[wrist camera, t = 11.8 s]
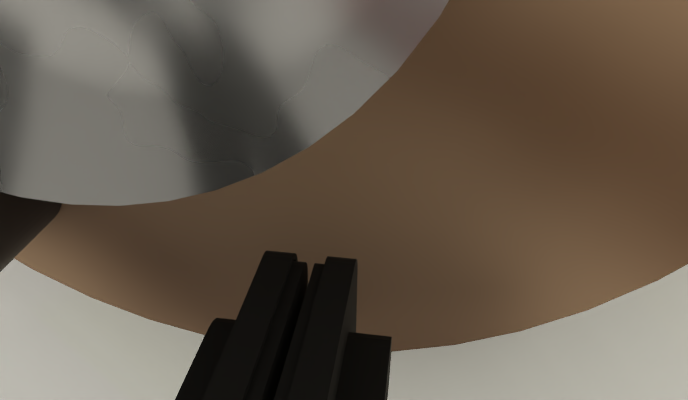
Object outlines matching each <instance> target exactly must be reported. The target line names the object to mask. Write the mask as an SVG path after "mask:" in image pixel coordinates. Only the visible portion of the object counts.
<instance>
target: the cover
mask: <svg viewBox="0 0 688 400" xmlns="http://www.w3.org/2000/svg"><path fill="white" fill-rule="evenodd" d="M448 1H449V0H0V192H3V193H7V194H10V195H14V196H18V197H23V198H30V199H37V200H44V201H51V202H57V203H64V204H73V205H108V206H123V205H134V204H144V203H155V202H165V201H171V200H176V199H180V198H184V197H189V196H193V195H197V194H202V193H206V192H211V191H215V190H218V189H220V188H223V187H226V186H228V185H231V184H234V183H236V182H239V181H242V180H244V179H247V178H250V177H252V176H255V175H257V174H260V173H263V172H265V171H266V170H268V169H270V168H272V167H274V166H275V165H277V164H279V163H281V162H283V161H285V160H286V159H288V158H290V157H292V156H294V155H296V154H297V153H299V152H301V151H303V150H305V149H307V148H308V147H310V146H311V145H312V144H314V143H315V142H317V141H318V140H319V139H321V138H322V137H323V136H325V135H326V134H327V133H329V132H330V131H331V130H333V129H334V128H335V127H337V126H338V125H339V124H341V123H342V122H343V121H345V120H346V119H347V118H349V117H350V116H351V115H353V114H354V113H355V112H356V111H357V110H358V109H359V108H360V107H361V106H362V105H363V104H364V103H365V102H366V101H367V100H368V99H369V98H370V97H371V96H372V95H373V94H374V93H375V92H376V91H377V90H378V89H379V88H380V87H381V86H382V85H383V84H384V83H385V82H387V81H388V80H389V79H390V78H391V77H392V76H393V75H394V74H395V73H396V72H397V71H398V69H399V68H400V67H401V65H402V64H403V63H404V62H405V60H406V59H407V58H408V56H409V55H410V54H411V53H412V51H413V50H414V49H415V47H416V46H417V45H418V44H419V42H420V41H421V40H422V38H423V37H424V36H425V35H426V33H427V32H428V31H429V29H430V28H431V27H432V26H433V24H434V23H435V22H436V21H437V19H438V18H439V16H440V15H441V13H442V11H443V10H444V8H445V6H446V5H447V3H448Z"/></svg>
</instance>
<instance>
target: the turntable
mask: <svg viewBox="0 0 688 400" xmlns="http://www.w3.org/2000/svg"><path fill="white" fill-rule="evenodd" d="M265 251H278V252H288V253H296V254H297V258H298V261H299V262H306V263H307V267H308V283H309V280H310V276H311V273H312V270H313V266H314V264H315V263H320V264H325V261H326V258H327V256H331V257H341V258H352V259H357V262H358V274H357V317H356V333H363V334H372V335H381V336H390V337H392V345H391V352H392V351H401V350H410V349H420V348H429V347H439V346H448V345H456V344H461V343H465V342H470V341H475V340H480V339H485V338H490V337H494V336H499V335H504V334H509V333H514V332H518V331H522V330H525V329H528V328H532V327H535V326H538V325H541V324H544V323H548V322H551V321H554V320H557V319H560V318H564V317H567V316H570V315H573V314H576V313H580V312H583V311H586V310H589V309H591V308H593V307H596V306H598V305H601V304H603V303H605V302H608V301H610V300H612V299H615V298H617V297H619V296H622V295H624V294H626V293H629V292H631V291H633V290H636V289H638V288H641V287H643V286H645V285H648V284H650V283H652V282H655V281H657V280H659V279H661V278H663V277H665V276H666V275H668V274H670V273H672V272H674V271H676V270H677V269H679V268H681V267H683V266H685V265H687V264H688V0H449V1H448V3H447V5H446V6H445V8H444V10H443V11H442V13H441V15H440V16H439V18H438V19H437V21H436V22H435V23H434V24H433V26H432V27H431V28H430V29H429V31H428V32H427V33H426V35H425V36H424V37H423V38H422V40H421V41H420V42H419V44H418V45H417V46H416V47H415V49H414V50H413V51H412V53H411V54H410V55H409V56H408V58H407V59H406V60H405V62H404V63H403V64H402V65H401V67H400V68H399V69H398V71H397V72H396V73H395V74H394V75H393V76H392V77H391V78H390V79H389V80H388V81H387V82H385V83H384V84H383V85H382V86H381V87H380V88H379V89H378V90H377V91H376V92H375V93H374V94H373V95H372V96H371V97H370V98H369V99H368V100H367V101H366V102H365V103H364V104H363V105H362V106H361V107H360V108H359V109H358V110H357V111H356V112H355V113H354V114H353V115H351V116H350V117H349V118H347V119H346V120H345V121H343V122H342V123H341V124H339V125H338V126H337V127H335V128H334V129H333V130H331V131H330V132H329V133H327V134H326V135H325V136H323V137H322V138H321V139H319V140H318V141H317V142H315V143H314V144H312V145H311V146H310V147H308V148H307V149H305V150H303V151H301V152H299V153H297V154H296V155H294V156H292V157H290V158H288V159H286V160H285V161H283V162H281V163H279V164H277V165H275V166H274V167H272V168H270V169H268V170H266V171H265V172H263V173H260V174H257V175H255V176H252V177H250V178H247V179H244V180H242V181H239V182H236V183H234V184H231V185H228V186H226V187H223V188H220V189H218V190H215V191H211V192H206V193H202V194H197V195H193V196H189V197H184V198H180V199H176V200H171V201H165V202H155V203H144V204H134V205H123V206H108V205H73V204H64V203H57V202H51V201H44V200H37V199H30V198H23V197H18V196H14V195H10V194H7V193H3V192H0V272H1V271H2V270H3V269H4V268H5V267H6V266H7V265H8V264H9V263H10V262H11V261H12V260H13V259H14V258H15V259H16V260H18V261H20V262H21V263H23V264H25V265H27V266H28V267H30V268H32V269H33V270H35V271H37V272H40V273H42V274H44V275H46V276H48V277H50V278H52V279H54V280H56V281H58V282H60V283H62V284H65V285H67V286H69V287H71V288H73V289H75V290H77V291H79V292H81V293H83V294H85V295H87V296H90V297H92V298H94V299H97V300H100V301H102V302H105V303H107V304H110V305H113V306H115V307H118V308H121V309H123V310H126V311H129V312H131V313H134V314H137V315H139V316H142V317H144V318H147V319H150V320H153V321H157V322H160V323H164V324H168V325H171V326H175V327H178V328H182V329H186V330H189V331H193V332H196V333H200V334H203V335H206V332H207V330H208V328H209V326H210V325H211V323H212V321H213V320H214V319H216V318H225V319H234V320H236V318H237V316H238V314H239V311H240V309H241V306H242V304H243V302H244V299H245V297H246V295H247V292H248V290H249V287H250V285H251V283H252V280H253V278H254V276H255V273H256V271H257V268H258V266H259V264H260V261H261V259H262V256H263V254H264V253H265Z"/></svg>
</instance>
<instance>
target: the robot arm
mask: <svg viewBox="0 0 688 400" xmlns="http://www.w3.org/2000/svg"><path fill="white" fill-rule="evenodd" d="M357 274H358V262H357V259H352V258H341V257H331V256H327V258H326V261H325V264H320V263H315V264H314V266H313V270H312V273H311V276H310V280H309V283H308V267H307V263H306V262H299V261H298V258H297V254H296V253H288V252H278V251H265V253H264V254H263V256H262V259H261V261H260V264H259V266H258V268H257V271H256V273H255V276H254V278H253V280H252V283H251V285H250V287H249V290H248V292H247V295H246V297H245V299H244V302H243V304H242V306H241V309H240V311H239V314H238V316H237V318H236V320H234V319H225V318H216V319H214V320H213V321H212V323H211V325H210V326H209V328H208V330H207V332H206V335H205V337H204V339H203V341H202V343H201V345H200V347H199V350H198V352H197V354H196V356H195V358H194V360H193V362H192V365H191V367H190V369H189V371H188V373H187V375H186V377H185V380H184V382H183V384H182V386H181V388H180V390H179V392H178V395H177V397H176V399H175V400H387V397H388V386H389V373H390V360H391V345H392V337H390V336H381V335H372V334H363V333H356V317H357Z"/></svg>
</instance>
